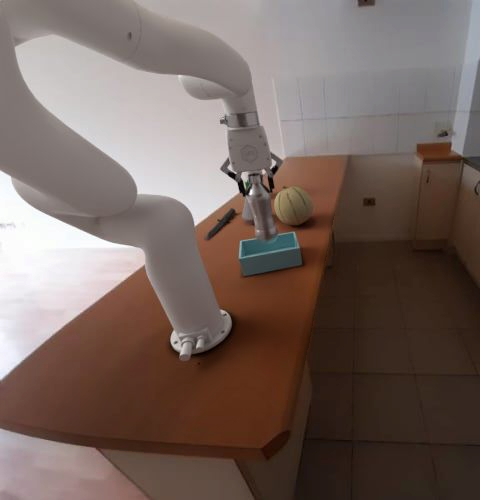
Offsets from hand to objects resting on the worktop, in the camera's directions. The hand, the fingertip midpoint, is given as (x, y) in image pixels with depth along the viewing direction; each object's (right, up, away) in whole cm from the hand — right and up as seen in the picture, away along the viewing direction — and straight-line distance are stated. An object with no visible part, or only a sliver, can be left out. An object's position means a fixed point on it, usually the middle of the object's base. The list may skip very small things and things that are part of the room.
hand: (258, 192), depth 75 cm
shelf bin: (+1, -19, +11) cm, 22 cm away
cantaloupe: (+6, -5, +34) cm, 35 cm away
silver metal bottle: (+1, -13, +8) cm, 15 cm away
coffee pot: (-10, -1, +44) cm, 45 cm away
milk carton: (-17, +10, +64) cm, 67 cm away
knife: (-25, -6, +38) cm, 45 cm away
